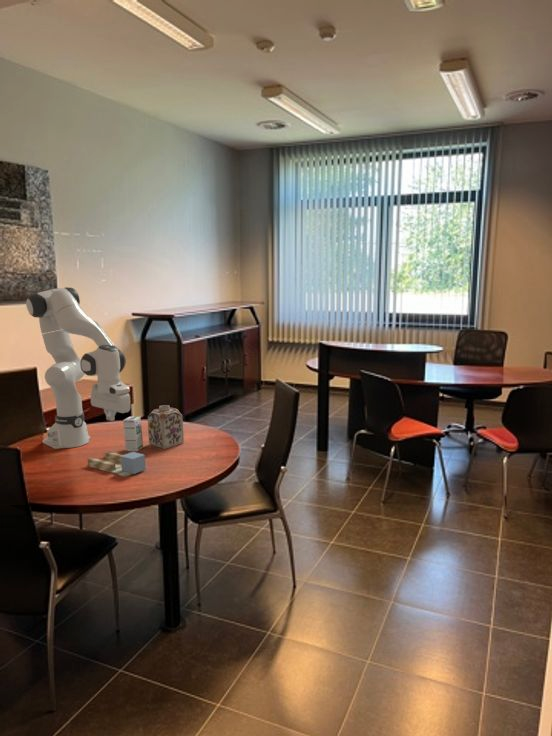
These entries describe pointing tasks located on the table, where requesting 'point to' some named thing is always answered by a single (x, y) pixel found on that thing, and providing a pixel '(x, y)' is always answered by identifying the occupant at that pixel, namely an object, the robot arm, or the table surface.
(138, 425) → the syrup box
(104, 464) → the chute
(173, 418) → the decorative jar
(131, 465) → the slate block
